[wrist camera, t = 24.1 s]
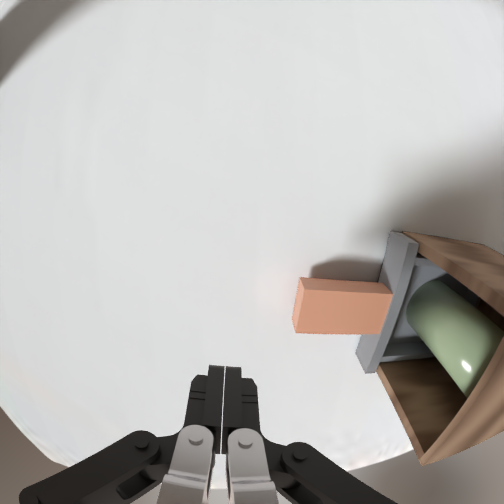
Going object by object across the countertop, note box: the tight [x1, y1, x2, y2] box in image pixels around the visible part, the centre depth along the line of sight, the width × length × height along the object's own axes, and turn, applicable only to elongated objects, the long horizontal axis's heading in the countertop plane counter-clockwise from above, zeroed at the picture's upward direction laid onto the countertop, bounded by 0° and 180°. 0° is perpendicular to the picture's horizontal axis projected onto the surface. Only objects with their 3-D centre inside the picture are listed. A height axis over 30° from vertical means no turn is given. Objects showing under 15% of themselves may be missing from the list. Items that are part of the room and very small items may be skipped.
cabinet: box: [376, 231, 504, 466], centre depth 17 cm, size 11×12×14 cm
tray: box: [292, 231, 481, 374], centre depth 21 cm, size 18×12×3 cm, turn 84°
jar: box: [406, 280, 504, 398], centre depth 17 cm, size 5×5×10 cm
